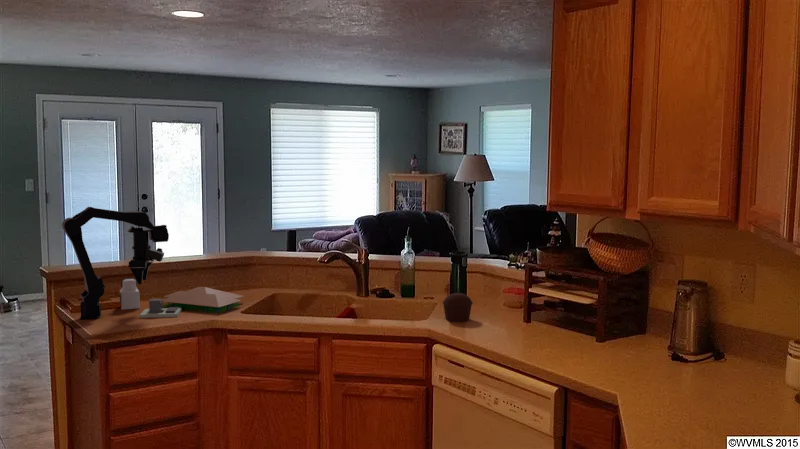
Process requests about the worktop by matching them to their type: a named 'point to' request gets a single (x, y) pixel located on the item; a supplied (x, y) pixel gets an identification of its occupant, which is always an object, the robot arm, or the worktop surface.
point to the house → (203, 299)
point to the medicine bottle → (129, 294)
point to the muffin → (457, 307)
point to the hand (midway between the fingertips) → (142, 282)
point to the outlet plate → (165, 313)
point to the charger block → (155, 305)
